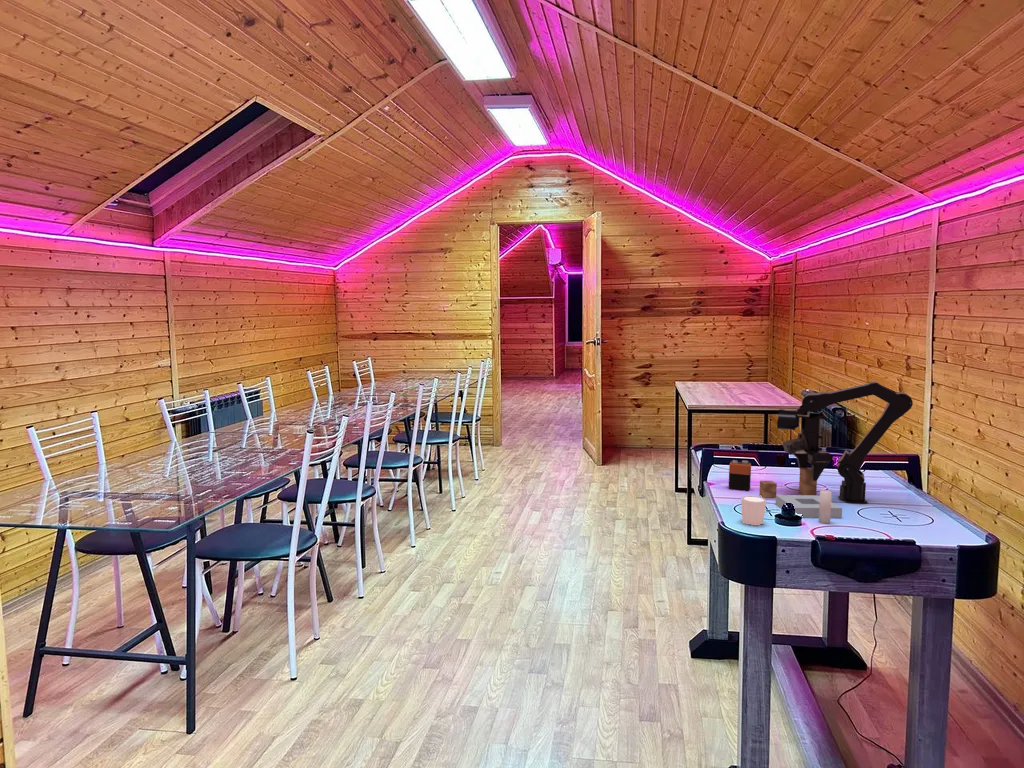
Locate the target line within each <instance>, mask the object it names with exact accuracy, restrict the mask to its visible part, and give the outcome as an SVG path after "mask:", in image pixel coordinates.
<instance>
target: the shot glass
mask: <svg viewBox="0 0 1024 768" xmlns="http://www.w3.org/2000/svg"><path fill="white" fill-rule="evenodd" d="M740 500H741V518H742V521H743V522H744V523H743V522H742V523H743V524H745V523H746V524H745V525H747V524H751V525H750V526H753V525H760V524H763V525H764V520H765V514H766V507H767V498H763V497H761V496H760V497H759V496H752V495H750V496H749V495H748V496H742V497H741V498H740ZM760 526H761V525H760Z"/></svg>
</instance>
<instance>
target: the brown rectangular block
mask: <svg viewBox="0 0 1024 768" xmlns="http://www.w3.org/2000/svg"><path fill="white" fill-rule="evenodd" d="M798 484H799V485H798V495H817V489H818V488H817V487H818V480H817V481H813V476H812V467H807V468H800V469H799V483H798Z"/></svg>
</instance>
